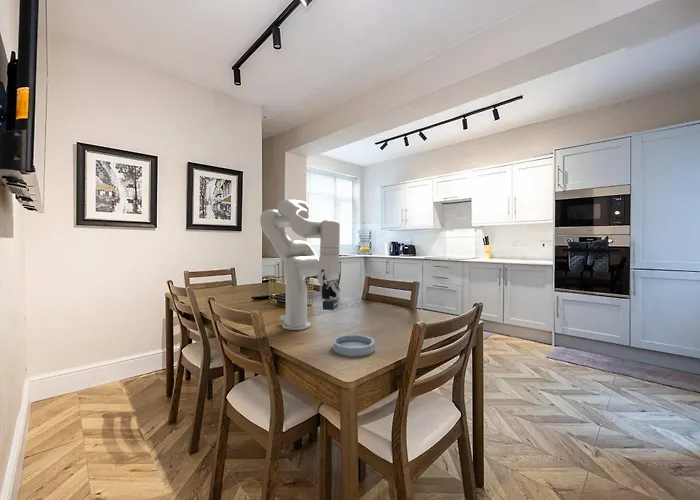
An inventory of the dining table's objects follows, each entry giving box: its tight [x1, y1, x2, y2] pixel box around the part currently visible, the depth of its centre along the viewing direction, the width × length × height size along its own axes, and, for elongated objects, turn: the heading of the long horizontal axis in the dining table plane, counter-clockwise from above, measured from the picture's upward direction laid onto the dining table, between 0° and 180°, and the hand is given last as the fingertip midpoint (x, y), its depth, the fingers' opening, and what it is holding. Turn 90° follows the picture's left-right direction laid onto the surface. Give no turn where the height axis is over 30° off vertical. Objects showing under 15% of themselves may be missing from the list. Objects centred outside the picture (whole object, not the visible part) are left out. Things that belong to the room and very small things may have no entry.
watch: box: [319, 280, 341, 311], centre depth 128 cm, size 6×8×11 cm
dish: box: [332, 334, 376, 357], centre depth 119 cm, size 15×15×3 cm
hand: (329, 297), depth 129 cm, fingers closed on watch, 4 cm apart
